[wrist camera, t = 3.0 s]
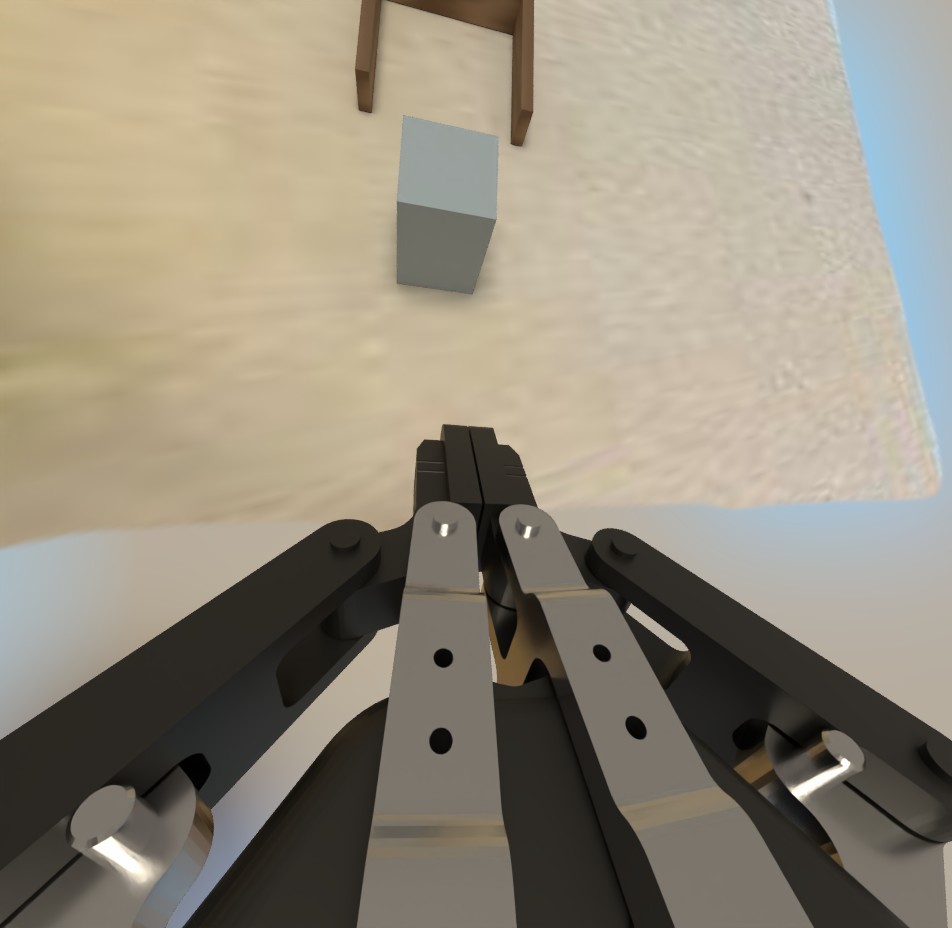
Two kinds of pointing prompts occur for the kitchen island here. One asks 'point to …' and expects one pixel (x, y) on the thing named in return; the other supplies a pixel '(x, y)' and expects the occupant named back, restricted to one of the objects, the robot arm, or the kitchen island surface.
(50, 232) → the kitchen island surface
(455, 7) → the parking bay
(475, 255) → the slate block
